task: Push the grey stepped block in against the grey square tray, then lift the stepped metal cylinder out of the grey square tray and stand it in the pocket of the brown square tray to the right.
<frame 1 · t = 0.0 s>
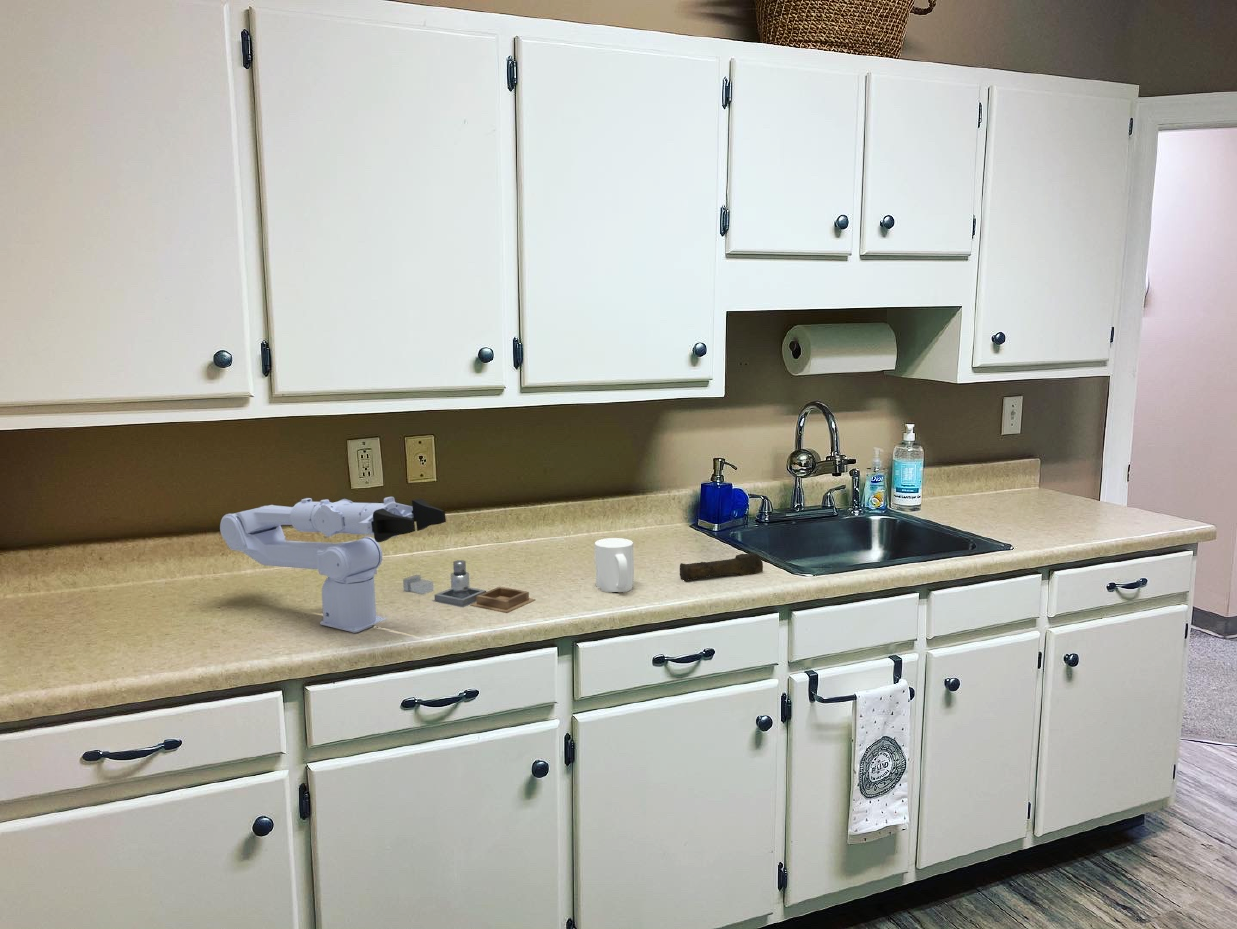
hand: (429, 521, 164), 22 cm above the worktop, tool horizontal, fingers open, 7 cm apart
grey stepped block: (419, 585, 195), point 2 cm above the worktop, slide at 0.0 cm
stepped metal cylinder: (460, 598, 190), point 1 cm above the worktop, touching grey square tray
mug: (616, 589, 198), on the worktop
brown square tray: (503, 605, 187), on the worktop
grey square tray: (460, 601, 190), on the worktop
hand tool: (721, 577, 206), on the worktop
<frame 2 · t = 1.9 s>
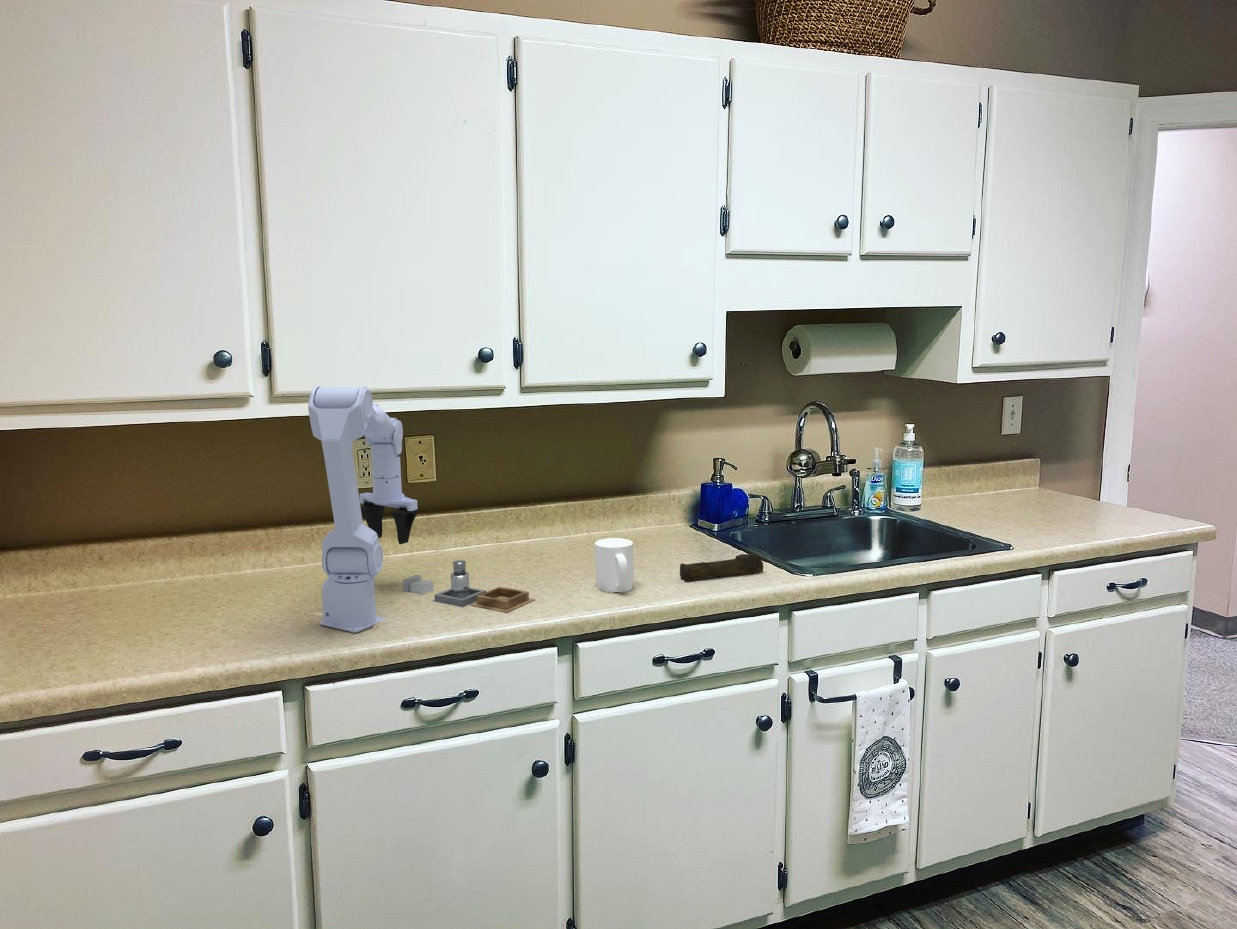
hand: (390, 540, 198), 10 cm above the worktop, tool pointing down, fingers open, 7 cm apart
nothing on the worktop moved.
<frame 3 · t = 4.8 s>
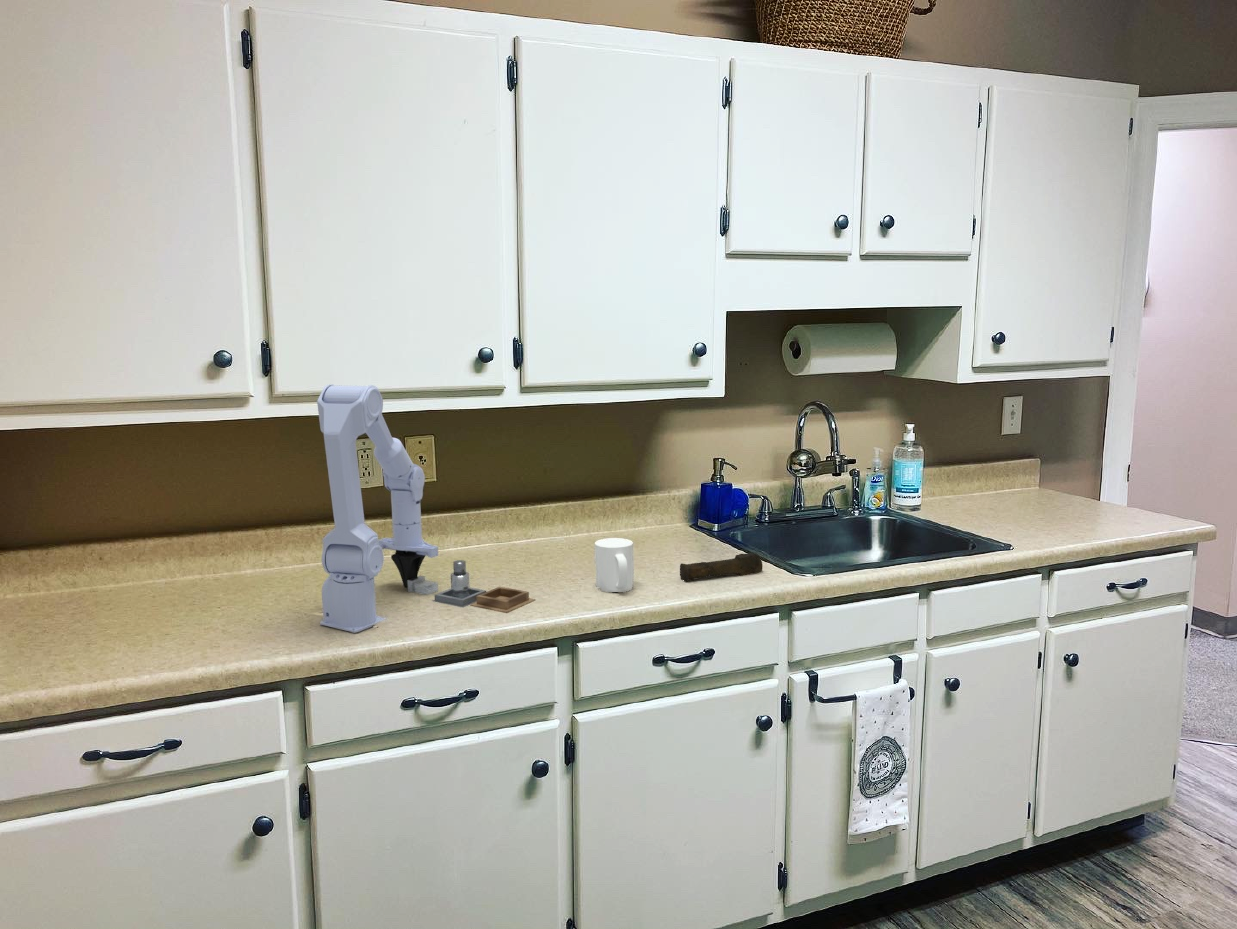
hand: (409, 586, 197), 1 cm above the worktop, tool pointing down, fingers closed
grey stepped block: (423, 586, 195), point 2 cm above the worktop, slide at 1.2 cm, touching gripper
everything else where it was.
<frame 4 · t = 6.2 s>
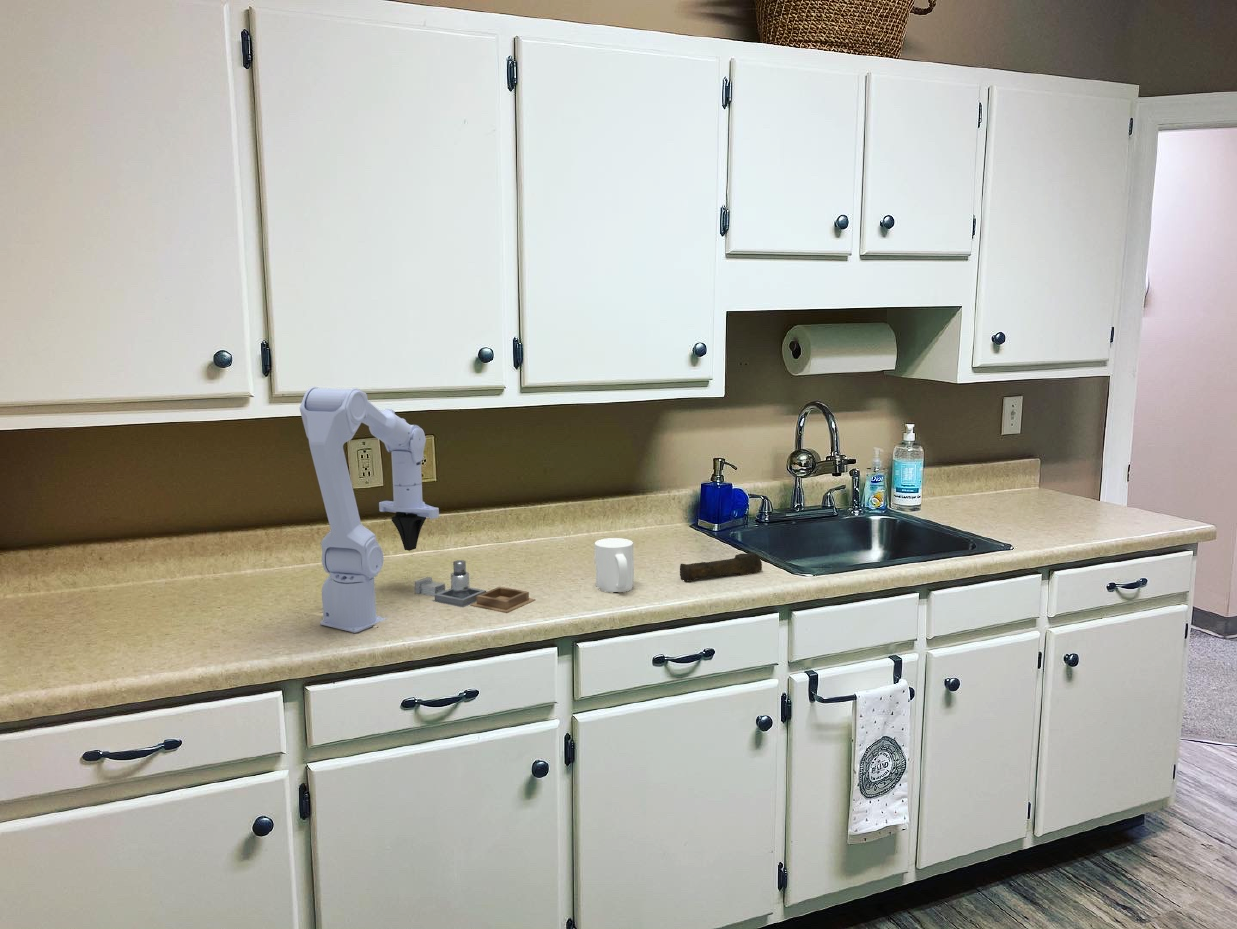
hand: (410, 549, 195), 9 cm above the worktop, tool pointing down, fingers closed
grey stepped block: (430, 588, 193), point 2 cm above the worktop, slide at 3.2 cm
everything else where it was.
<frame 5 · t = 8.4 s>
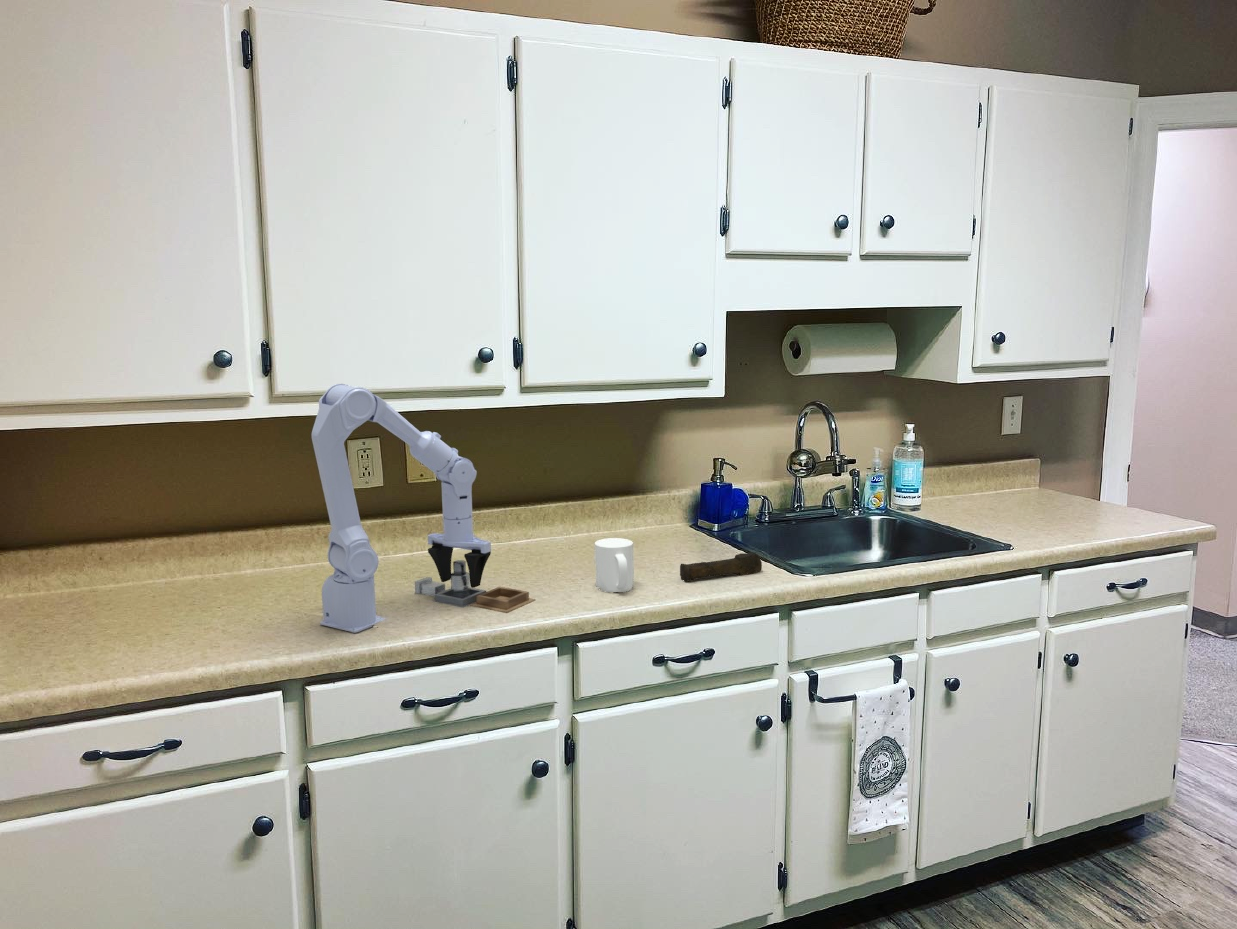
hand: (460, 583, 189), 4 cm above the worktop, tool pointing down, fingers open, 7 cm apart
nothing on the worktop moved.
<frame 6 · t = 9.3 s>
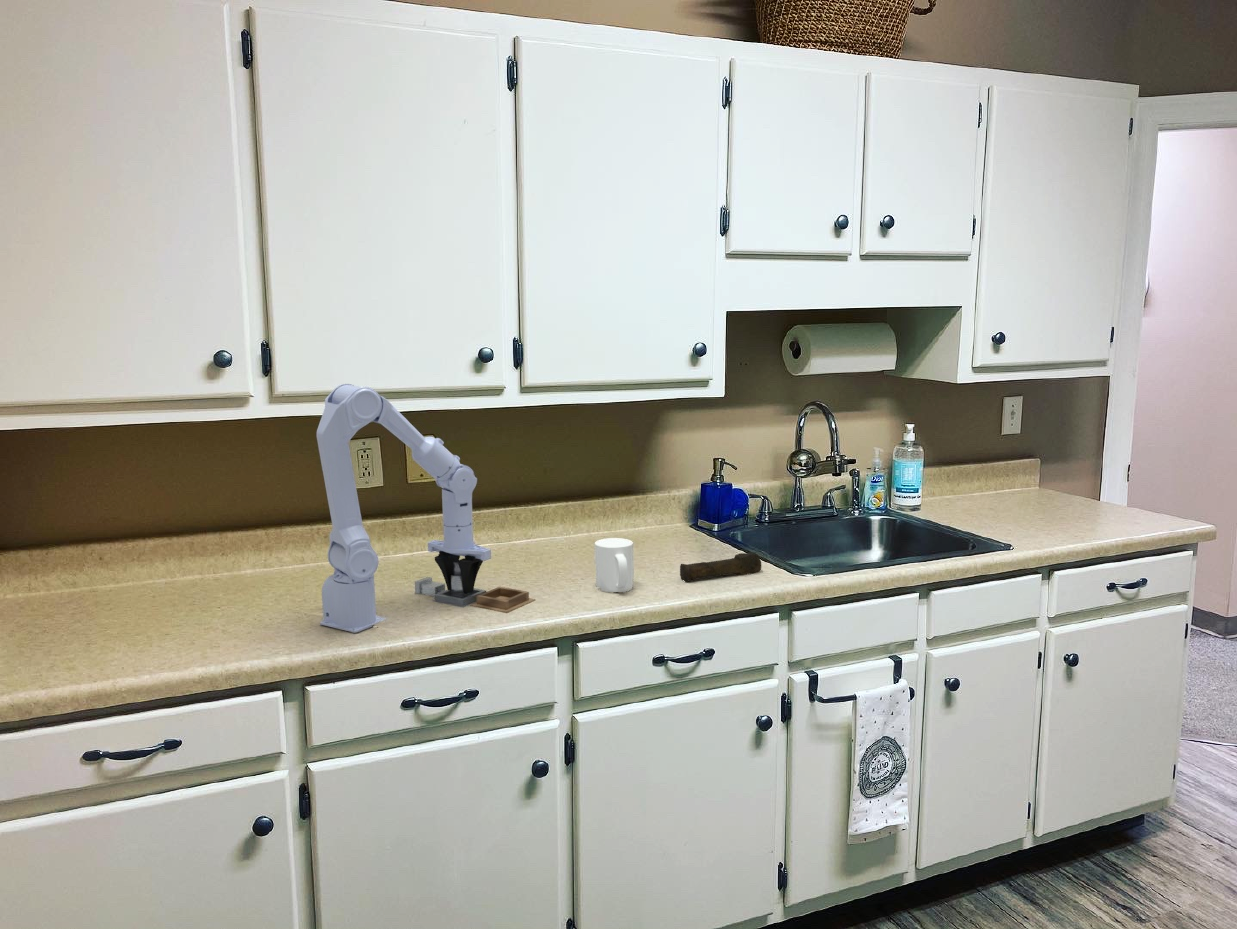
hand: (460, 590, 189), 2 cm above the worktop, tool pointing down, fingers closed on stepped metal cylinder, 4 cm apart
stepped metal cylinder: (460, 598, 190), point 1 cm above the worktop, touching gripper, grey square tray
everything else where it was.
when the fingers open (4 cm above the worktop, at t = 12.3 s): stepped metal cylinder stays where it is, resting on brown square tray.
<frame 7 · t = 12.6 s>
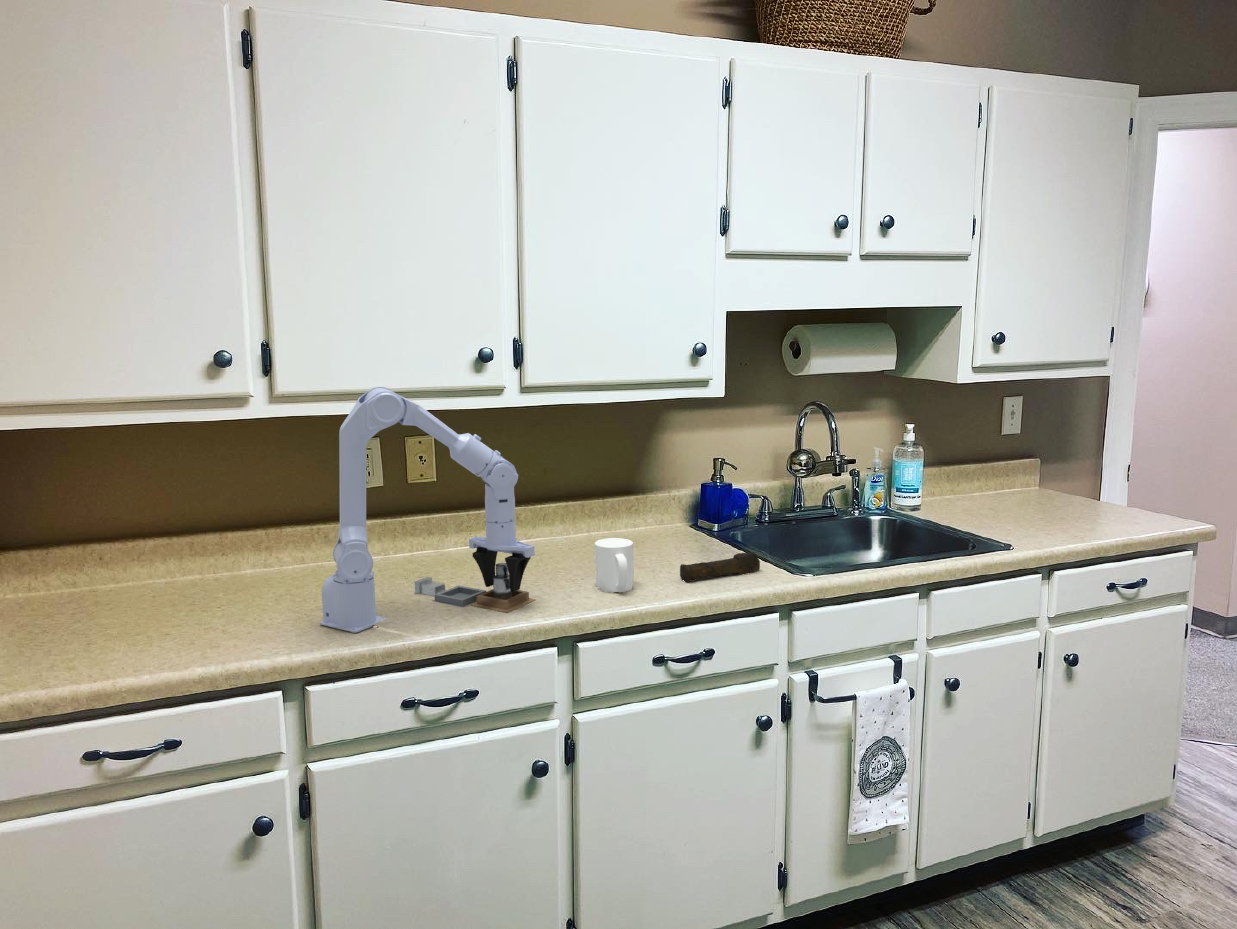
hand: (502, 588, 186), 4 cm above the worktop, tool pointing down, fingers open, 6 cm apart
stepped metal cylinder: (503, 601, 187), point 1 cm above the worktop, touching brown square tray
everything else where it was.
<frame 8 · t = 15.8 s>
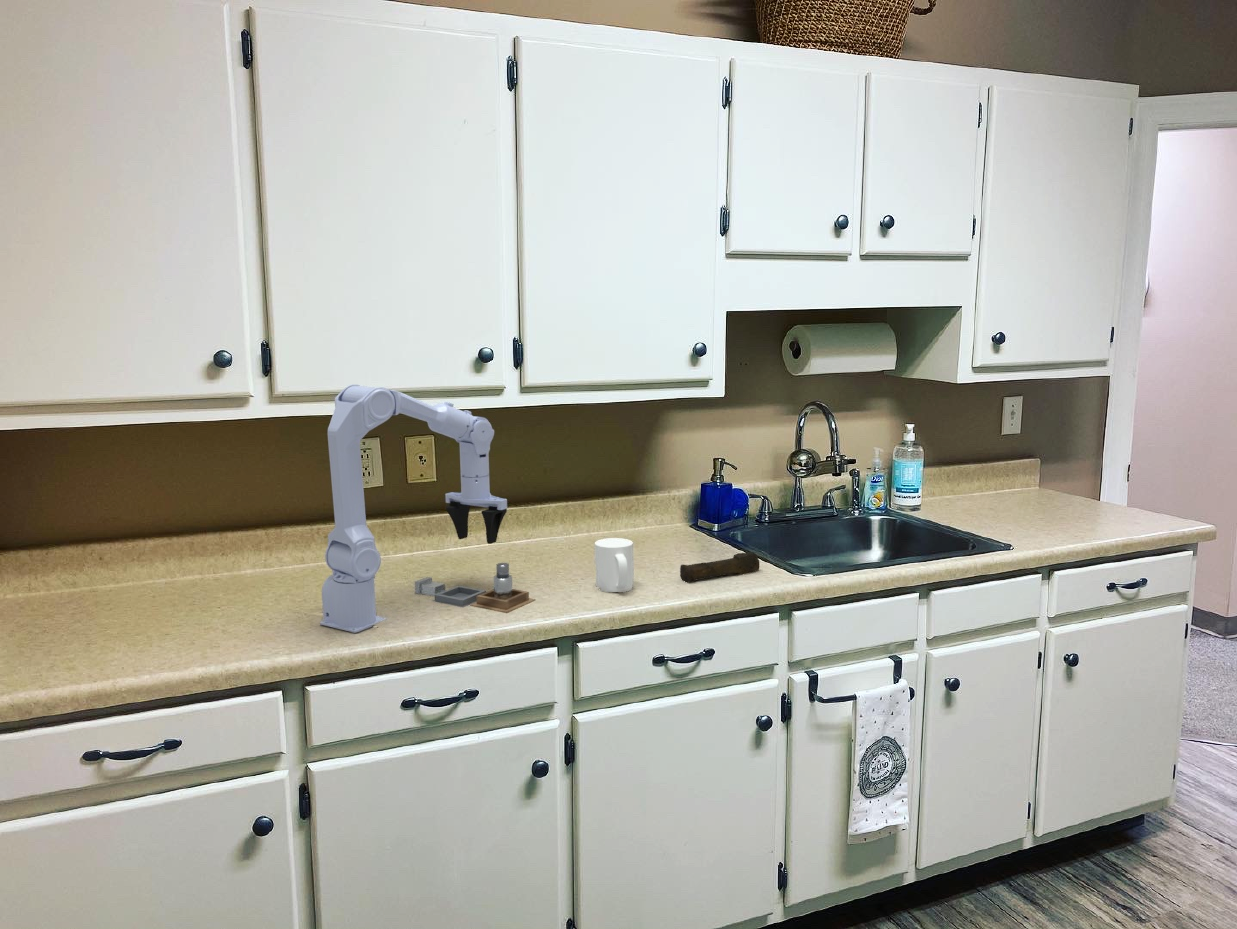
hand: (477, 540, 196), 10 cm above the worktop, tool pointing down, fingers open, 7 cm apart
nothing on the worktop moved.
at the end: stepped metal cylinder 0.0 cm off-centre on the brown square tray, point 0.8 cm above the brown square tray's base; stepped metal cylinder tilted 1°; grey stepped block slide at 3.2 cm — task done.
